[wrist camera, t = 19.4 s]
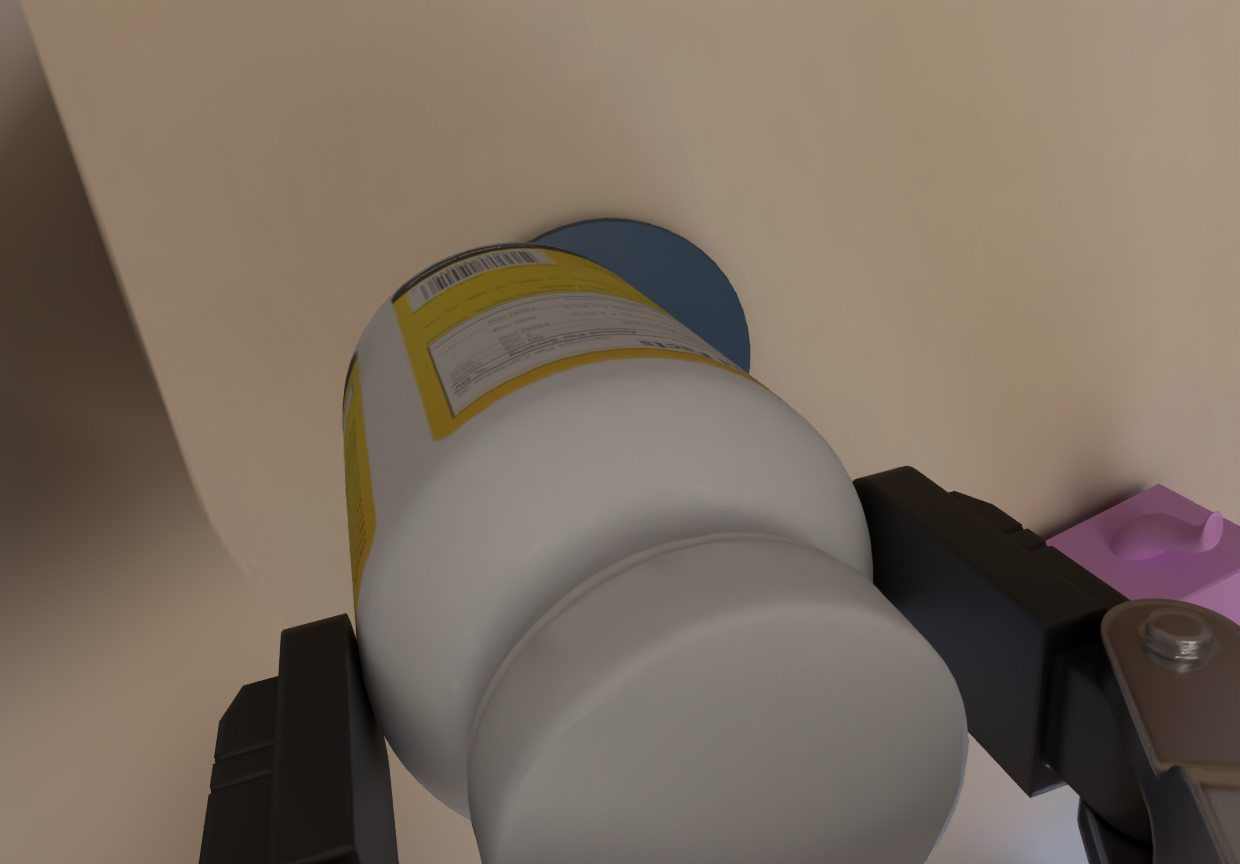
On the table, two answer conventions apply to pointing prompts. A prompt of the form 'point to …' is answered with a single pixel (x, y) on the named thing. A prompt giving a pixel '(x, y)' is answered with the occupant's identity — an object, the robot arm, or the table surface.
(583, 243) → the lid
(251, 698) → the robot arm
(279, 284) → the table surface
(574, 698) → the pill bottle
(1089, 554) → the teapot
